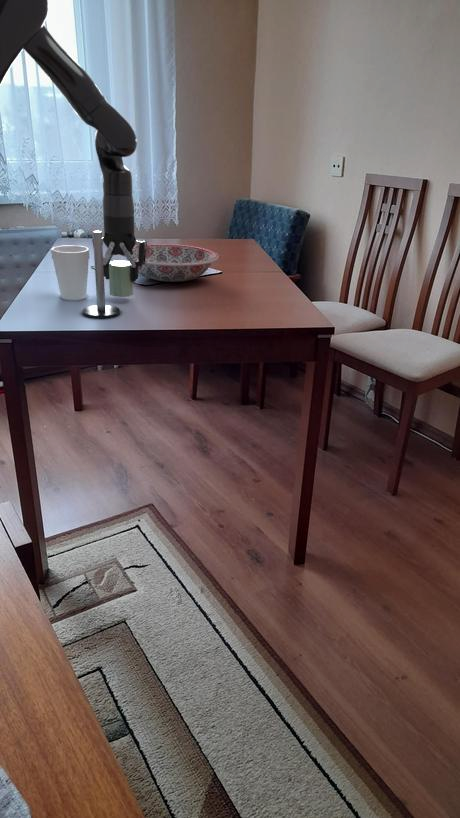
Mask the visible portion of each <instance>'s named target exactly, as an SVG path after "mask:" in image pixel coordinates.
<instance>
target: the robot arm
mask: <svg viewBox="0 0 460 818" xmlns="http://www.w3.org/2000/svg"><path fill="white" fill-rule="evenodd" d="M48 12H49V2H48V0H0V86H1V85H2V83H3V82H4V79H5V78H6V76H7V74H8V73H9V71H10V70H11V69H10V68H11V67H12V65H13V64H14V62H15V60H17V58H18V57H19V56H20V54H21V52H22V51H23V50H24V51H25V52H26V53H27V54H28V56H29V57H30V58H31V59H32V60H33V61H34V62H35V63H36V64H37V65H38V66H39V68H40V69H41V70H42V71H43V72H44V73H45V75H46V76H47V77H48V78H49V79H50V81H51V82H52V83H53V84H54V85H55V87H56V88H57V89H58V91H59V92H60V94H61V95H62V96H63V97H64V99H65V101H67V103H68V104H69V106H70V107H71V108H72V109H73V111H74V112H75V114H76V115H77V116H78V117H79V118H80V120H82V122H83V123H84V124H86V125H88V126H90V127H91V128H94V129H95V130H96V132H95V135H94V144H95V145H94V146H95V152H96V157H97V160H98V164H99V167H100V168H99V169H100V171H101V174H102V191H103V192H102V194H103V196H102V216H103V217H102V219H103V233H104V234H103V236H102V246H103V245H105V246H106V248H107V249H106V251H105V254H104V256H103V268H104V278H105V280H108V281H109V262H111V260H112V258H113V257H114V256H118V255H120V256H122V257H124V256H126V258H125V259H126V261H128V262H130V264H131V266H132V267H131V282H133V283H135V282H136V281H137V280H138V279H139V272H138V266H142V265H143V264H145V260H146V249H147V245H148V243H147V241H146V240H143V241H142V240H137V238H136V236H135V206H134V197H133V175H132V172H131V170H130V169H129V168H127V167H126V166H125V164H124V160H123V158H127V157H130V156H132V155H133V154H134V153H135V152H136V150H137V145H138V139H137V136H136V132H135V130H134V129H133V127H132V125H131V124H130V123H129V121H128V120H126V119H125V117H123V115H121V114H120V112H119V111H118V110H116V108H115V107H113V106H112V105H111V104H110V103H109V102H108V101H107V99H106V97H105V96H104V95H103V93H102V92H101V90H100V89H99V87H98V86H97V85H96V83H95V82H94V80H93V79H92V78H91V76H90V75H89V74H88V72H86V70H85V69H83V68H82V67H81V65H80V64H79V63H78V62H77V61H76V60H75V59H74V58H73V57H72V56H71V55H70V54H69V53H68V52H67V51H66V50H65V49H64V48H63V47H62V46H61V45H60V44H59V43H58V42H57V41H56V39H55V38H54V37H53V36H52V34H51V33H50V31H49V30H48V28H47V27H46V26H45V22H46V19H47V16H48ZM91 241H92V247H93V249H94V243H93V238H92V240H91ZM134 246H137V249H138V250H139V257H138V261H137V259H136V256H135V253H134V251H133V247H134ZM131 252H132V253H131Z"/></svg>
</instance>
